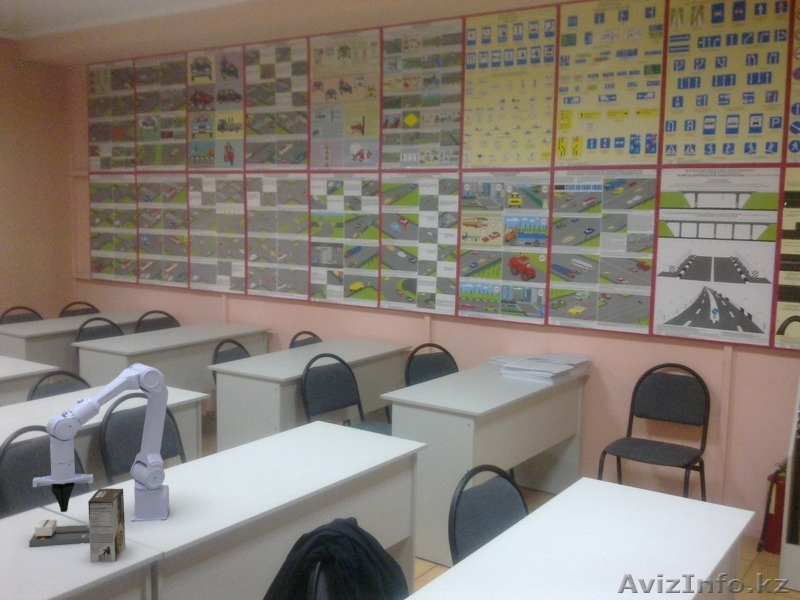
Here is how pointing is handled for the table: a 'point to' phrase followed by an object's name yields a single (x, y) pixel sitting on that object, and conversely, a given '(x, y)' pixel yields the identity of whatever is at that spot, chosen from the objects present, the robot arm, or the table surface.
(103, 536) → the coffee box
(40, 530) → the fader knob
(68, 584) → the table surface
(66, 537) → the fader panel
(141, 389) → the robot arm
